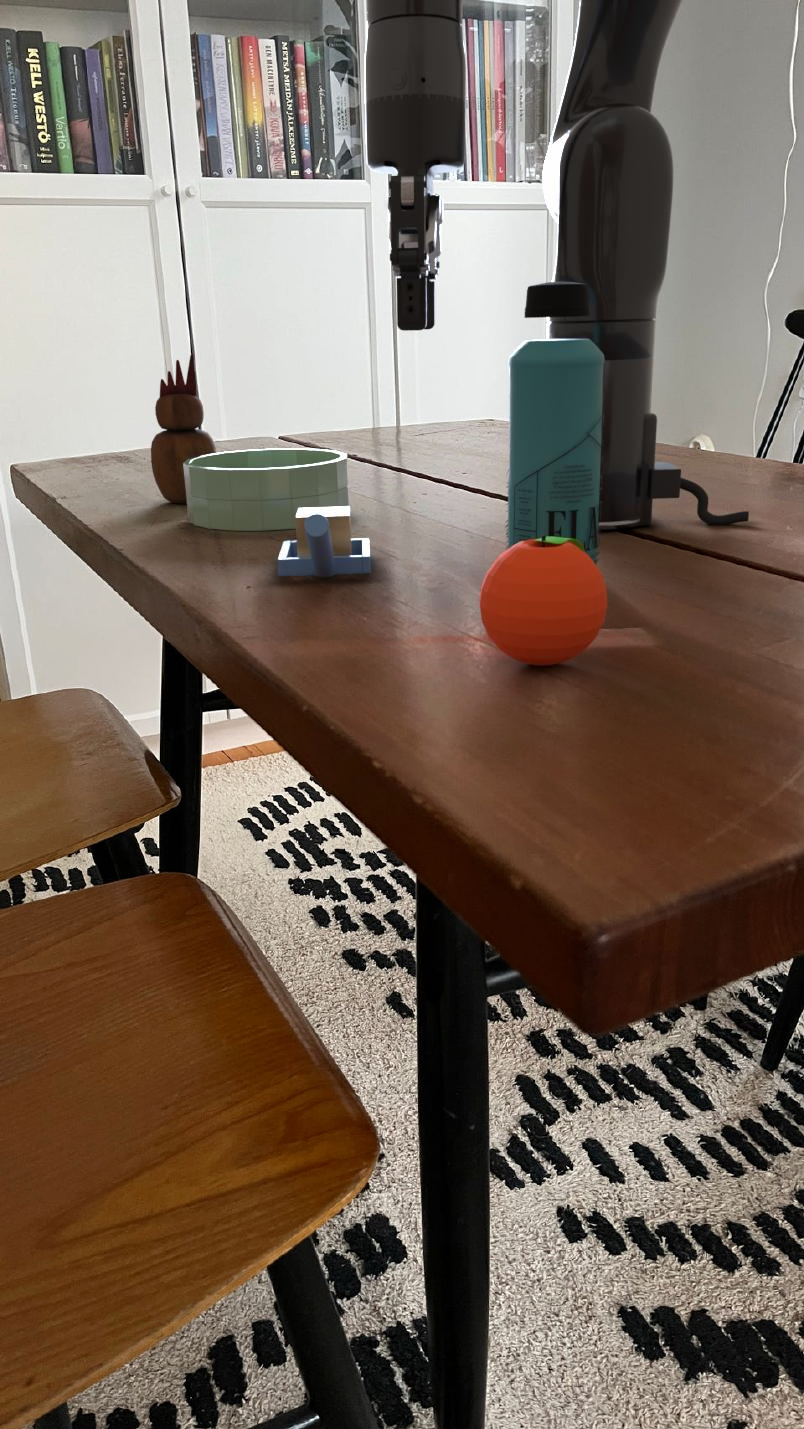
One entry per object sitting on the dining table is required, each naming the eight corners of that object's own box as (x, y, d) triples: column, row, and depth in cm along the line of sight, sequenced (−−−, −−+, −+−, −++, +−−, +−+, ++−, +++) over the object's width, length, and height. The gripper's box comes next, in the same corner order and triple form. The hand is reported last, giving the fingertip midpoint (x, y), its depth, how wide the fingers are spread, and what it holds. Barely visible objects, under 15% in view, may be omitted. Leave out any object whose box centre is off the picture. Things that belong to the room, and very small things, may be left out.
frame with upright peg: (285, 563, 84) (279, 481, 82) (370, 560, 84) (367, 478, 82) (269, 615, 70) (262, 517, 67) (372, 611, 70) (368, 514, 68)
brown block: (352, 557, 83) (350, 506, 81) (352, 568, 79) (349, 515, 78) (301, 559, 83) (298, 508, 81) (298, 570, 79) (295, 517, 78)
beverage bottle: (539, 605, 70) (545, 280, 63) (486, 585, 75) (486, 284, 68) (618, 592, 73) (632, 278, 66) (561, 574, 78) (569, 283, 71)
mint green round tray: (350, 505, 109) (347, 446, 107) (348, 534, 95) (345, 466, 92) (202, 510, 109) (196, 451, 106) (178, 540, 94) (171, 472, 92)
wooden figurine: (225, 496, 117) (213, 353, 111) (211, 505, 111) (197, 355, 106) (166, 497, 117) (150, 355, 112) (149, 506, 112) (132, 357, 107)
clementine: (533, 633, 64) (535, 516, 61) (636, 653, 60) (643, 528, 57) (454, 667, 58) (452, 539, 56) (562, 691, 54) (566, 554, 52)
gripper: (460, 77, 72) (459, 330, 77) (469, 114, 85) (467, 328, 91) (351, 81, 73) (358, 332, 78) (377, 117, 86) (381, 329, 91)
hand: (417, 330), depth 84 cm, fingers open, 8 cm apart
